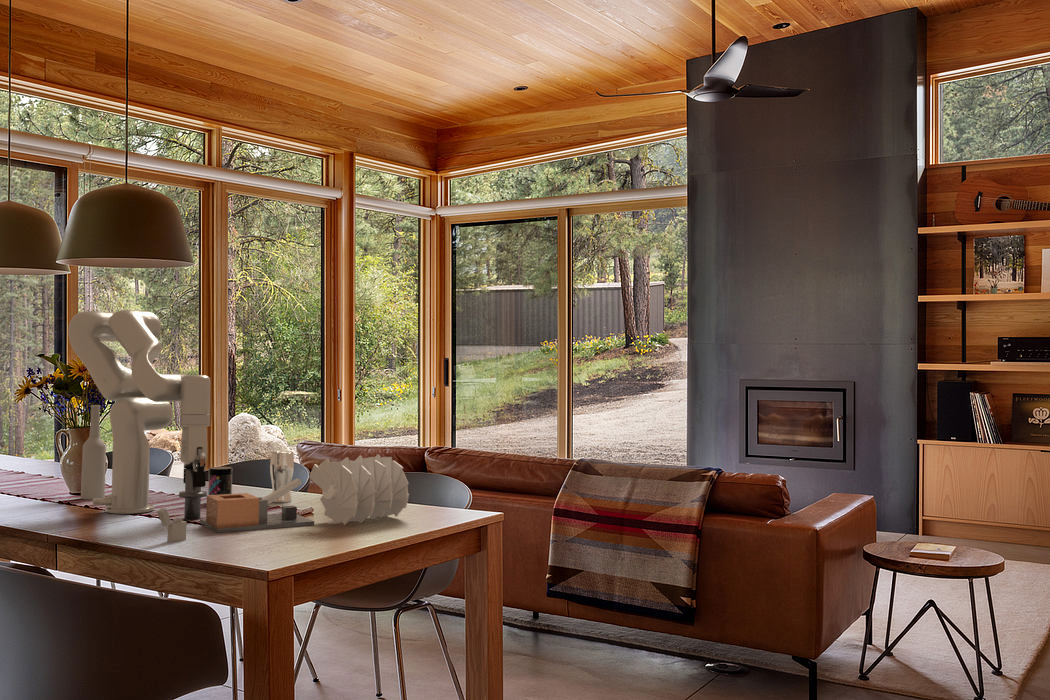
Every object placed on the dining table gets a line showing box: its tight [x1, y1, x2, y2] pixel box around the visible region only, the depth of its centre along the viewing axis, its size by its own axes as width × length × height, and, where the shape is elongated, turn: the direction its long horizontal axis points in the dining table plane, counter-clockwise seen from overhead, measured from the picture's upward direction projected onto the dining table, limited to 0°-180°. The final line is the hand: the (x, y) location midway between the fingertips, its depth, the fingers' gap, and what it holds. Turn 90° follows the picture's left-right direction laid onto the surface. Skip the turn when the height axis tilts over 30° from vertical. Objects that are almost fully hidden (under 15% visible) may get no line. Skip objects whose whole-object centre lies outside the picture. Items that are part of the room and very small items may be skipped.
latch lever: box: [261, 478, 303, 505], centre depth 245 cm, size 12×2×1 cm, turn 124°
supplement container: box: [207, 466, 233, 495], centre depth 276 cm, size 7×7×10 cm
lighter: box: [156, 507, 188, 543], centre depth 216 cm, size 7×2×8 cm, turn 148°
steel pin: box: [178, 469, 208, 521], centre depth 248 cm, size 7×7×13 cm
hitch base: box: [199, 492, 315, 534], centre depth 241 cm, size 25×16×8 cm, turn 123°
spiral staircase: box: [309, 453, 410, 526], centre depth 250 cm, size 18×18×25 cm
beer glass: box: [269, 450, 295, 504], centre depth 282 cm, size 7×7×15 cm
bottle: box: [80, 404, 107, 501], centre depth 280 cm, size 7×7×28 cm
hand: (194, 485), depth 248 cm, fingers open, 9 cm apart
